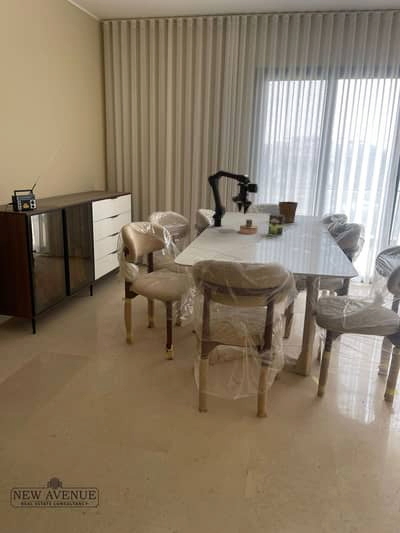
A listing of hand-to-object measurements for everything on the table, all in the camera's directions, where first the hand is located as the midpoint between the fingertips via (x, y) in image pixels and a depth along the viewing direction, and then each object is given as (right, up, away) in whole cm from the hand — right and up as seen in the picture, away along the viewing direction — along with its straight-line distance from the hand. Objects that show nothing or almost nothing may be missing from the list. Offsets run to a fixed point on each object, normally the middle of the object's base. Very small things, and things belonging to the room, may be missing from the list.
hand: (242, 213), depth 293 cm
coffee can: (+23, -17, -13) cm, 31 cm away
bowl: (+4, -15, -8) cm, 18 cm away
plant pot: (+42, -2, +38) cm, 56 cm away
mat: (-12, -14, -6) cm, 19 cm away
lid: (+4, -12, -9) cm, 15 cm away
